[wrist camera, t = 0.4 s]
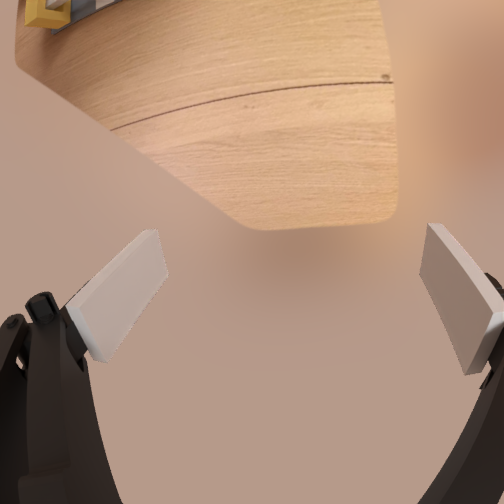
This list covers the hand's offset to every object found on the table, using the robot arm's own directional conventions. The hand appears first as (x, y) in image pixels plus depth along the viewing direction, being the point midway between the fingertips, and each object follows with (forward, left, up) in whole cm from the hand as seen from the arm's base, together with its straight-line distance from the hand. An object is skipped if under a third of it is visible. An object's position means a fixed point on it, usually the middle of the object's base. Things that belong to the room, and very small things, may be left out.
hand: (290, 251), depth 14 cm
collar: (-32, -35, -25) cm, 54 cm away
